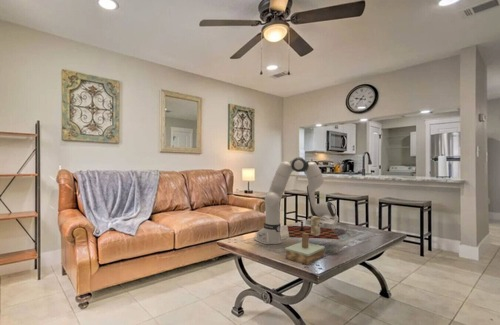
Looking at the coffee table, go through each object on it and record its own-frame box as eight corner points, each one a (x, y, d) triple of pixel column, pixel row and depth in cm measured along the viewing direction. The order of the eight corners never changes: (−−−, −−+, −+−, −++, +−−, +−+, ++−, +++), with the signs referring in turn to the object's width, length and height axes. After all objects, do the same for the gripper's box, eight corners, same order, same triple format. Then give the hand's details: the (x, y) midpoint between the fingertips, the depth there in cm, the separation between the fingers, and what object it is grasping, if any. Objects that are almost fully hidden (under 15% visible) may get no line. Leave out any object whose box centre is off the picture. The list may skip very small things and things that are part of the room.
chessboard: (329, 227, 257) (329, 216, 257) (339, 239, 217) (339, 226, 217) (287, 226, 261) (287, 215, 261) (289, 238, 221) (289, 224, 221)
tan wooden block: (310, 234, 184) (311, 216, 184) (314, 233, 188) (314, 216, 188) (316, 235, 181) (317, 217, 181) (320, 234, 185) (320, 217, 185)
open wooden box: (286, 257, 173) (286, 250, 173) (302, 250, 187) (302, 243, 187) (307, 264, 162) (308, 256, 162) (323, 256, 176) (323, 248, 176)
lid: (285, 249, 172) (285, 234, 172) (302, 243, 188) (302, 228, 188) (308, 256, 161) (308, 239, 161) (324, 248, 176) (325, 233, 176)
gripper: (311, 215, 201) (301, 218, 191) (337, 219, 187) (328, 222, 177) (311, 223, 201) (301, 227, 191) (337, 228, 187) (328, 232, 177)
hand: (315, 225), depth 184 cm, fingers closed on tan wooden block, 4 cm apart
